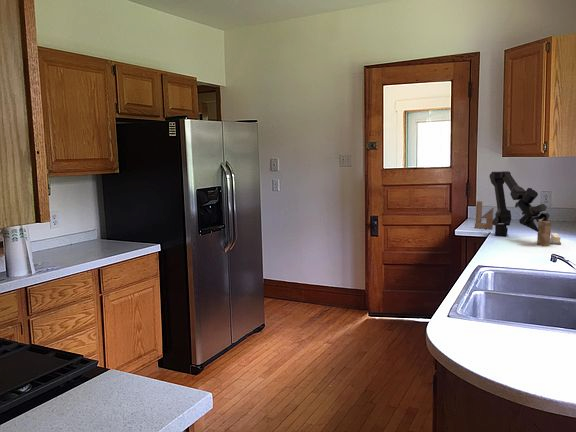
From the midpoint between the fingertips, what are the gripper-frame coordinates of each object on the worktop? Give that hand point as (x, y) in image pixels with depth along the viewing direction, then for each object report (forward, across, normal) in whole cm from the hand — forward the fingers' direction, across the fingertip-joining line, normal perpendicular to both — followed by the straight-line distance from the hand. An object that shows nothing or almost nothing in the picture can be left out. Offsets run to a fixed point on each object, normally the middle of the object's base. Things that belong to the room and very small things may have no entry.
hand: (543, 230), depth 269 cm
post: (+6, 0, +6) cm, 8 cm away
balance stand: (+2, +13, +9) cm, 16 cm away
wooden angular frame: (-35, +20, +46) cm, 61 cm away
